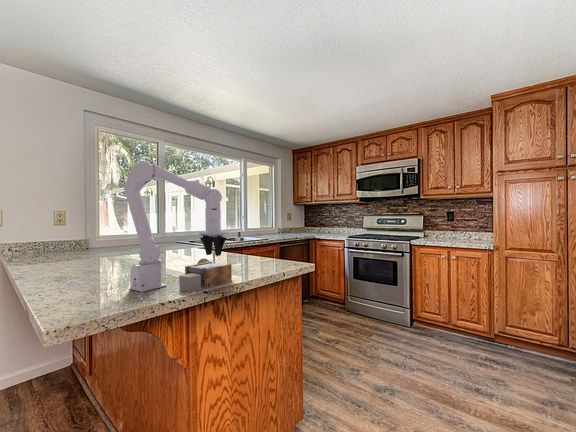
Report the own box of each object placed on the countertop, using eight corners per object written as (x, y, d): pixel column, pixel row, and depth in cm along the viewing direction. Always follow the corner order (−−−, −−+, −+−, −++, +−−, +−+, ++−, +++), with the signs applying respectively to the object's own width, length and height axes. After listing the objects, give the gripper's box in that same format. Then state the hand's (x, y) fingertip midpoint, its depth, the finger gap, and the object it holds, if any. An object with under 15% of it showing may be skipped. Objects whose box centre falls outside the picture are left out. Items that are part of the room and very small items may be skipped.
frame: (206, 287, 101) (206, 269, 101) (185, 283, 107) (185, 266, 107) (231, 280, 111) (231, 264, 110) (210, 277, 117) (210, 261, 117)
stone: (188, 292, 95) (188, 277, 95) (179, 290, 98) (179, 275, 98) (200, 288, 99) (200, 274, 99) (191, 287, 102) (191, 273, 102)
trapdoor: (203, 274, 101) (203, 268, 101) (187, 271, 106) (187, 266, 106) (226, 268, 111) (226, 264, 111) (210, 266, 116) (210, 262, 116)
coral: (213, 277, 118) (212, 262, 118) (197, 278, 116) (197, 263, 116) (210, 270, 132) (210, 257, 132) (196, 271, 130) (196, 258, 130)
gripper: (233, 220, 110) (234, 255, 110) (208, 219, 118) (209, 252, 118) (220, 220, 104) (220, 257, 104) (194, 220, 112) (194, 254, 113)
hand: (213, 255), depth 111 cm, fingers open, 5 cm apart
